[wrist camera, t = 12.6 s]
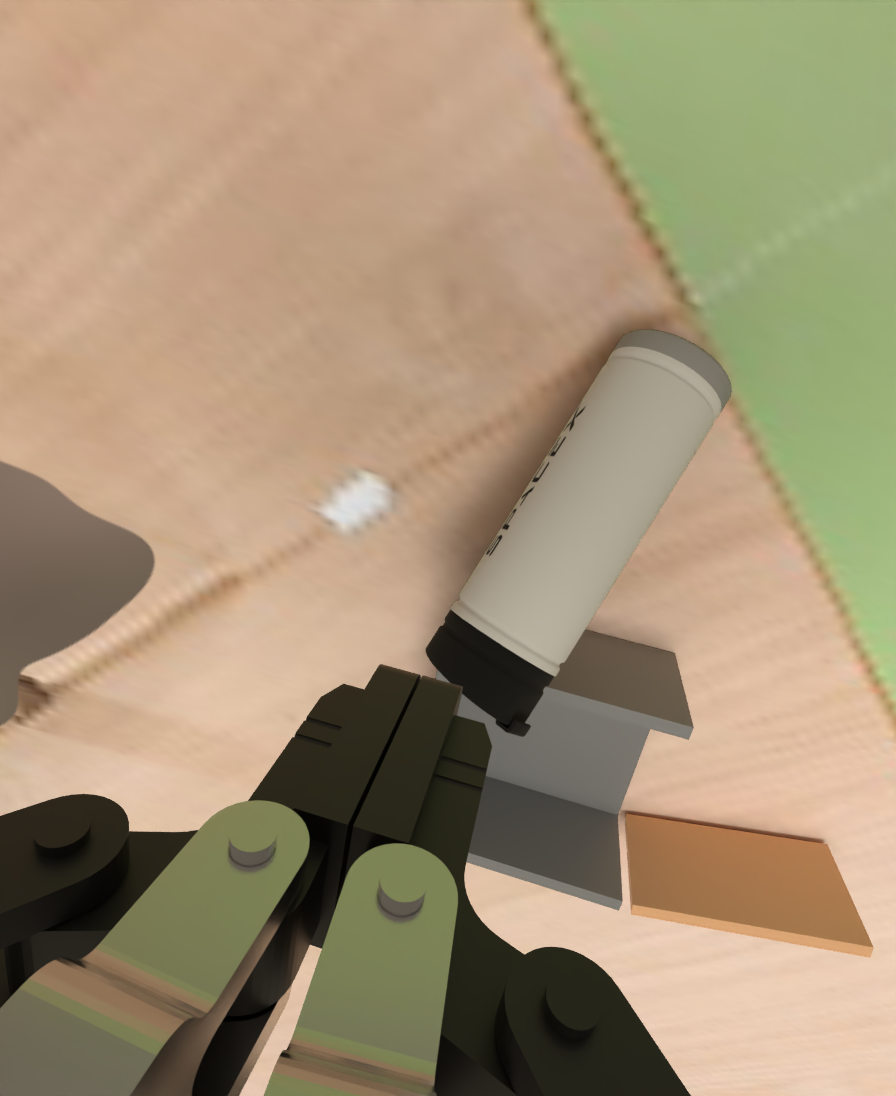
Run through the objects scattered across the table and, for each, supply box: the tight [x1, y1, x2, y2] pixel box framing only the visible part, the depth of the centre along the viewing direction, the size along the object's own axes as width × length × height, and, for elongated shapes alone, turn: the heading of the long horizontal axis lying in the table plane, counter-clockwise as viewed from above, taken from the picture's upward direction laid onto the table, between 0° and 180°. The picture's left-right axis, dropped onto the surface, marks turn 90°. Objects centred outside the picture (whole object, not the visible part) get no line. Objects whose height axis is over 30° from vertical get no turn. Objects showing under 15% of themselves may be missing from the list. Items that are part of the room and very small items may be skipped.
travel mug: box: [426, 330, 732, 737], centre depth 32 cm, size 6×7×20 cm
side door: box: [625, 814, 873, 957], centre depth 41 cm, size 2×13×8 cm, turn 89°
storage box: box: [436, 630, 694, 910], centre depth 41 cm, size 14×14×8 cm
